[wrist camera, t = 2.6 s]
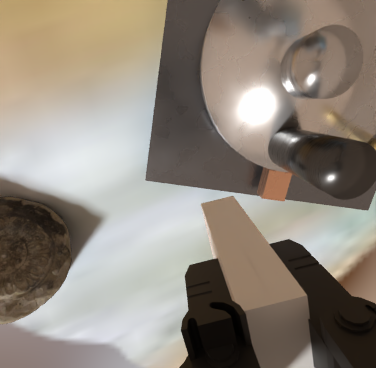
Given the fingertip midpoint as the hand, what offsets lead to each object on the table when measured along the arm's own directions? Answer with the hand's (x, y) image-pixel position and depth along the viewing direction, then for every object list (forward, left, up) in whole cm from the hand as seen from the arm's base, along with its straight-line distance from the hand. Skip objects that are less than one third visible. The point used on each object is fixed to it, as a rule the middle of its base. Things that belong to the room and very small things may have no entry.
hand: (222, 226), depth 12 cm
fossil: (+10, -15, -14) cm, 23 cm away
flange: (-8, +7, -11) cm, 15 cm away
